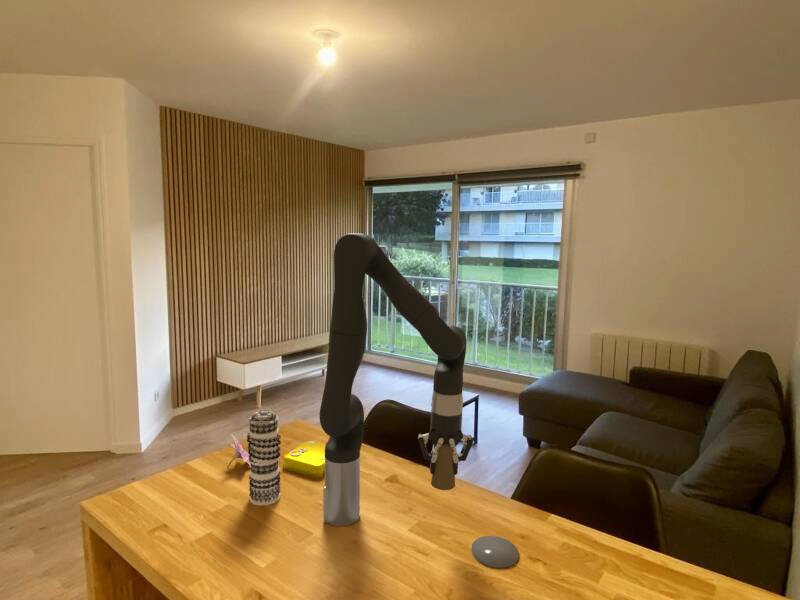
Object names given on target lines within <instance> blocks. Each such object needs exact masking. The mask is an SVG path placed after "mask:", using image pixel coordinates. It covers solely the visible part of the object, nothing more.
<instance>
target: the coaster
mask: <svg viewBox="0 0 800 600" xmlns="http://www.w3.org/2000/svg"><path fill="white" fill-rule="evenodd" d="M471 554H472V556H473V557H474V559H475V560H476V561H477V562H478V563H480V564H482V565H485V566H487V567H490V568H492V569H493V568H495V569H506V568H510V567H512V566H514V565H515V564H516V563H517V562H518V560H519V550H518V548H517V546H515V544H514V543H512V542H511V541H509V540H508V539H506V538H504V537H500V536H496V535H484V536H480V537H478V538H476V539H475V540H474V541H473V542H472V544H471Z"/></svg>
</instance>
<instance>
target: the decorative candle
mask: <svg viewBox="0 0 800 600" xmlns="http://www.w3.org/2000/svg"><path fill="white" fill-rule="evenodd" d="M279 418H280V417H279V415H277V414H276V413H275V412H274V411H273V410H268V409H263V410H259V411H255V412H254V413H253V414H252V416H251V417H249V418H248V422H249V432H247V435H246V442H247V443H248V444H247V452H248V454H249V459H248V461H249V462H250V464H251V467H250V470H249V477H248V479H249V483H248V484H249V490H248V491H249V494H248V495H249V502H250V503H251V504H252V505H255V506H260V507H261V506H262V507H263V506H269V505H272V504H274V503H277V502H278V501H279V500H280V498H281V484H282V483H280V482H281V472H280V466H279V460H280V457H281V447H280V446H279V445H281V443H282V441H281V438H282V437H281V434H279V425H278V424H279V423H278V420H279Z"/></svg>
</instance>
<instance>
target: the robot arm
mask: <svg viewBox="0 0 800 600" xmlns="http://www.w3.org/2000/svg"><path fill="white" fill-rule="evenodd" d="M334 246H335V247H334V250H333V296H332V306H331V319H330V327H329V334H328V335H329V336H328V350H327V351H328V353H327V363H326V373H325V374H326V375H325V383H324V389H323V393H322V399H321V403H320V410H319V414H318V416H319V423H320V426H321V429H322V431H324V433H325V434H326V435H327V436H328V437H329V439H328V440H327V442H326V443H325V444H326V446H325V475H324V485H323V489H322V490H323V493H322V494H323V496H322V497H323V499H322V500H323V503H322V504H323V523H326V524H330V525H332V526H335V527H345V526H350V525H352V524H355V523H356V522H357V521H358V520H359V519H360V515H361V514H360V510H361V507H360V503H361V502H360V498H361V496H360V495H361V494H360V493H361V492H360V491H361V485H360V484H361V478H360V477H361V475H360V474H361V449H362V446H363V443H364V442H363V441H364V427H365V425H364V424H365V410H364V407H363V406H364V405H363V403H362V401H361V399H360V398H359V397H358V396H357V395H355V394H353V393H352V390H353V385H354V381H355V378H356V376H357V372H358V370H359V368H360V367H361V366H360V365H361V363H362V360H363V357H364V354H365V351H366V345H367V344H366V343H367V336H368V335H367V333H368V317H367V313H366V309H365V303H364V294H363V293H364V282H365V275H367V276H368V277H369V278H370V279H372V280H373V281H374V282H375V283H377V285H378V287H380V288H381V290H383V292H384V294H385V295H386V296H387V299H389V301H390V303H391V304H392V305H393V307H394V308H395V309H396V311H397V312H398V313H399V314H400V315H401V316H402V317H403V318H404V319H405V320H406V321H407V322H408V323H409V324H410V326H412V328H414V329H415V330H416V331H418V333H419V335H420V336H421V337H422V339H423V340H424V342H425V343H426V344H427V346H428V348H430V350H431V351H433V353H434V354H435V355H437V364H436V366H435V369H434V373H433V386H432V387H433V389H432V390H433V391H432V397H431V403H430V407H431V409H430V429H429V430H428V433H424V434H422V433H418V435H417V439H418V441H417V442H418V443H419V447H420V450H421V453H422V457H423V459H424V460H425V461H428V462H430V463H429V472H430V475H432V474H433V476H434V474H435V469H436V464H437V463H436V459H437V456H438V453H437V450H438V448H439V447H440V446H442V444H450V446H451V447H452V448H453V450H454V453H453V472H454V477H455V476H457V475H458V471H459V470H458V469H459V463H460V462H465V461H467V458H468V456H469V453H470V451H471V448H472V447H473V443H474V439H473V437H472V435H471V434H468V435H466V434H464V433H463V431H462V427H463V426H462V425H463V424H462V423H463V408H464V407H463V405H464V400H463V399H464V397H463V387H464V386H463V385H464V365H465V361H466V353H467V343H468V341H467V336H466V334H465V331H463V329H462V328H460V327H459V326H455V325H448V324H447V323H446V322H445V321H444V320H443V319H442V318H441V316H440V312H439V310H438V309H437V308H436V307H435V306H434V305H433V304H432V303H431V302H430V301H429V300H428V299H427V298H426V297H425V296H424V295H423V294H422V293H421V292H419V290H418V289H417V288H416V287H415V286H414V285H413V284H412V283H410V281H409V280H407V278H406V277H404V275H403V273H401V272H400V271H399V270H398V269H397V267H396V266H395V265H394V264H393V263H392V262H391V260H390V259H389V258H388V256H387V254H385V252H384V251H383V249H382V248H381V247H380V246H379V244H378V243H377V242H376V240H375V239H374V238H373V237H372V236H371V235H368V234H366V233H360V232H356V233H355V232H350V233H346V234H344V235H342V236H341V237H339V239H337V241H336V243H335V245H334ZM428 439H430V442H431V443H432V449H431V452H428V448H427V445H426V444H427V443H428V441H429V440H428ZM461 441H462V443H463V445H462V448H461V451H460V452H459V453H458V451H457V446H458V445H459V443H460V442H461ZM434 446H435V449H434ZM438 446H439V447H438Z"/></svg>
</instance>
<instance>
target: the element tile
mask: <svg viewBox="0 0 800 600" xmlns="http://www.w3.org/2000/svg"><path fill="white" fill-rule="evenodd" d="M326 444H327V443H323V442H318V441H315V440H307V441H304V442H302V444H300V445H299V446H296V447H295V448H293V449H292V450H290V451H288V452H287V453H284V454H283V458H282V459H283V461H282V463H283V467H282V468H283V469H284V470H286V471H290V472H293V473H297V474H300V475H303V476H306V477H311V478H313V479H314V478H315V479H319V478H321V477H322V478H323V477H325V446H326Z"/></svg>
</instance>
